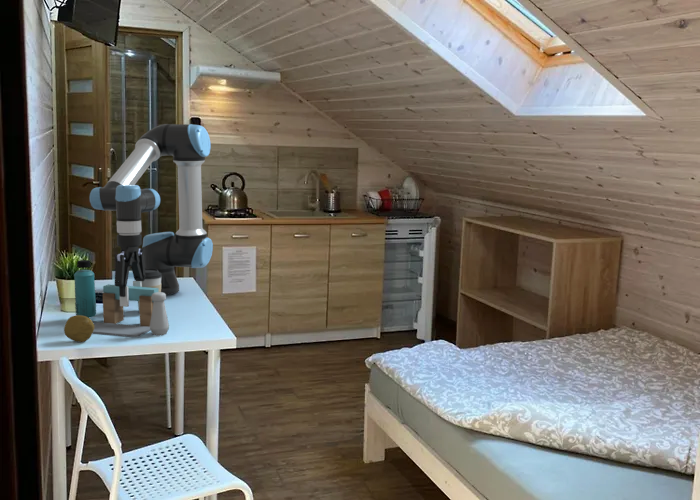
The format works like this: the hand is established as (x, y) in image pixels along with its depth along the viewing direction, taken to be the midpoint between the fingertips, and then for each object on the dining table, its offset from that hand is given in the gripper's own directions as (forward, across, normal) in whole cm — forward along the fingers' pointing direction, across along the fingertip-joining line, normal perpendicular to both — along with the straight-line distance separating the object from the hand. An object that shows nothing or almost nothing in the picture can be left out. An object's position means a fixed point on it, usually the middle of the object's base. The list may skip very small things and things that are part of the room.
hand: (131, 303), depth 228 cm
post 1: (+7, 0, -6) cm, 9 cm away
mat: (+7, +9, 0) cm, 11 cm away
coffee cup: (+7, -15, -2) cm, 17 cm away
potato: (+7, +23, -4) cm, 24 cm away
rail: (-1, 0, 0) cm, 1 cm away
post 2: (+7, 0, +6) cm, 9 cm away
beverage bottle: (+7, +1, -16) cm, 17 cm away
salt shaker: (+7, +8, +14) cm, 18 cm away
